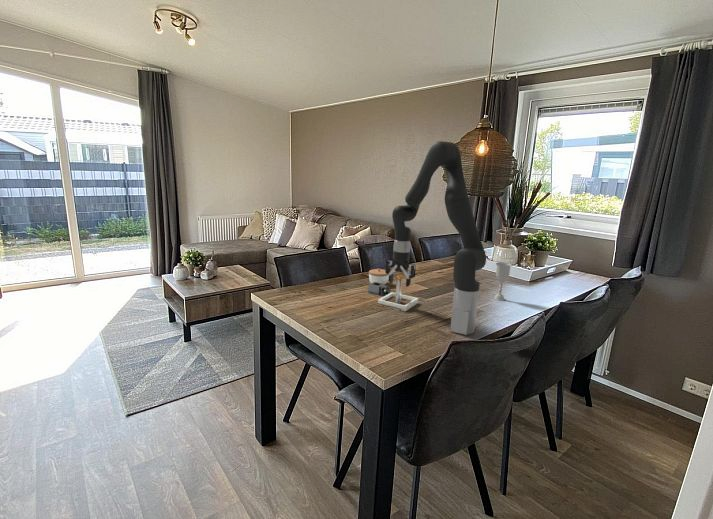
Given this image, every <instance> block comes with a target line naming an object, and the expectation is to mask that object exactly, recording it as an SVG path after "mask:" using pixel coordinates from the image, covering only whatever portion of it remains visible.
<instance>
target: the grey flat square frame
mask: <svg viewBox="0 0 713 519" xmlns="http://www.w3.org/2000/svg"><path fill="white" fill-rule="evenodd" d="M393 292H394V291H391V293H390V294H388V295H386V296H384V297H382V296H381V297H380V298H379V299H377V304H380V305H384V306H388V307H393V308H396V309H398V311H400V312H408V311H409V310H411V309H412V308H413V307H415V306H416V305H418V303H419V297H415V296H411V295H405V294H402V293H401V299H403V300H408V301H409V302H408V303H406V304H400V303H396V302H392V301H388V299H390V298H392V297H395V298H396V292H394V293H393Z"/></svg>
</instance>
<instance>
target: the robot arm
mask: <svg viewBox="0 0 713 519" xmlns="http://www.w3.org/2000/svg"><path fill="white" fill-rule="evenodd" d="M440 167H443V168H444V172H445V176H446V189H445V193H444V205H445V208H446V213H447V216H448V219H449V222H450V223H451V224H452V226H453V227H454V228H455V229H456V231H457V233H458V234H459V236H460V237H461V238H460V239H461V241H462V244H463V248H461V249H459V250H458V251H457V252H456V253H455V256H454V261H453V274H452V276H453V277H452V278H453V283H454V290H453V295H452V296H453V298H452V305H451V306H452V309H451V318H450V332H453V333H457V334H460V335H464V336H467V335H471V334H473V333H474V332H475V328H476V319H477V311H478V303H479V293H480V281H478V280H476V271H480V270H482V269H483V268H484V267H485V265H486V263H487V255H486V252H485V248H484V246H483V243H482V240H481V237H480V235H479V232H478V228H477V223H476V220H475V217H474V212H473V207H472V204H471V201H470V200H471V199H470V197H469V194H468V189H467V185H466V184H467V183H466V181H465V177H464V170H463V163H462V157H461V152H460V149H459V146H458V145H457V144H456V143H454V142H450V141H442V140H441V141H436V142H434V143H432V145H431V146H430V147H429V150H428V151H427V154H426V155H425V159H424V161H423V163H422V166H421V167H420V170H419V171H418V172H419V173H418V174H417V177H416V179H415V181H414V182H413V184H412V185H411V187H410V189H409V190H408V191H407V193H406V196H405V198H404V200H405V203H406V205H397V206H395V207H394V208H393V210H392V214H391V217H392V218H391V219H392V223H393V227H394V242H393V249H392V260H390V259H388V260H387V261H386V262H385V269H384V270H385V273H387V274H389V277H388V282H389V283H390V284H394V273H395V272H397V273H399V272H400V273H402V274H404V275H405V277H406V279H405V287H406V288H408V287H410V285H411V282H412V280H411V279H414V278H415V277H416V270H417V269H416V267H417V266H416V264H410V256H411V255H410V254H411V233H412V230H411V228H410V227H408V226H406V225H405V224H406V222H411V221H413V220H414V219H415V218H416V216H417V215H418V211H419V209H420V205H421V203H422V202H423V201H424V199H425V197H426V196H427V195H428V193H429V190H430V186H431V181H432V180H431V179H432V177H433V175H434V174H435V172H436V171H437V170H438V169H439V168H440ZM391 266H392V269H391ZM404 275H403V276H404Z"/></svg>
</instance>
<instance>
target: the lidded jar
mask: <svg viewBox="0 0 713 519" xmlns="http://www.w3.org/2000/svg"><path fill="white" fill-rule="evenodd" d="M385 270H386V269H381V267H380V268H379V267H378V268H373V269H370V270H368V280H369V282H370V284H371V283H373V282H378V283H383V284H385V285H387V283H388V282H389V274H387V273H385Z"/></svg>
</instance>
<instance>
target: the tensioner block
mask: <svg viewBox="0 0 713 519" xmlns="http://www.w3.org/2000/svg"><path fill="white" fill-rule="evenodd" d="M391 292H393V293H395V292H394V291H392V290H391V287H390V285H386V284H383V283H378V282H373V283H371V282H370V283H369V284H368V290H367V291H364V293H366V294H369V295H373V296H379V297H381V298H382V297H384V296H386V295H388V294H390V293H391Z"/></svg>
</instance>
